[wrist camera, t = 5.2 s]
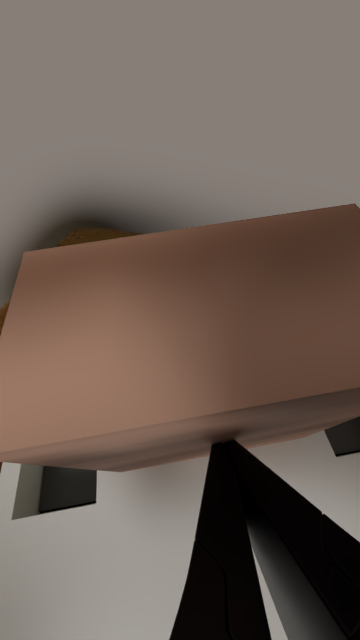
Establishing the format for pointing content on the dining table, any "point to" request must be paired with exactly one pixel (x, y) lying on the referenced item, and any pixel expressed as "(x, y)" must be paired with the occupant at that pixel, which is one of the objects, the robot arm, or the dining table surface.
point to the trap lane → (137, 537)
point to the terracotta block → (182, 342)
